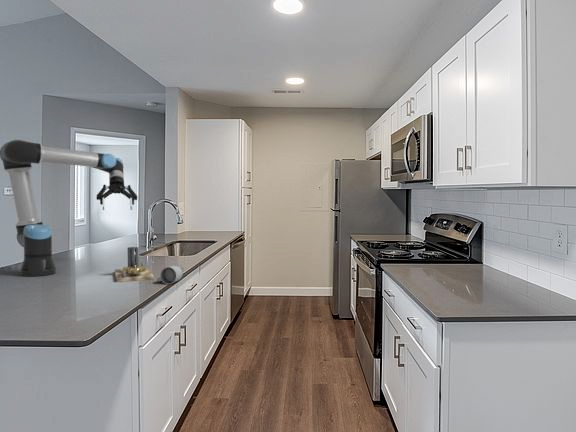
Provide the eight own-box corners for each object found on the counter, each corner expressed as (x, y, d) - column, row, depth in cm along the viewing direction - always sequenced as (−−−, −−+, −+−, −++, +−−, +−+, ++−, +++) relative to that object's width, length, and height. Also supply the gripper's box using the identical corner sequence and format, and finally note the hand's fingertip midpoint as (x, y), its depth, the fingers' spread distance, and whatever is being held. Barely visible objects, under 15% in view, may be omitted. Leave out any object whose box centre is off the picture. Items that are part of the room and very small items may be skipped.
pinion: (128, 273, 204) (127, 248, 203) (127, 271, 208) (127, 247, 208) (139, 272, 206) (138, 247, 205) (138, 270, 210) (137, 246, 210)
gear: (123, 278, 192) (123, 267, 192) (122, 274, 202) (122, 264, 201) (147, 276, 196) (147, 266, 196) (145, 272, 206) (145, 263, 206)
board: (116, 282, 191) (116, 272, 190) (114, 272, 213) (114, 263, 213) (154, 279, 197) (154, 269, 197) (148, 270, 220) (148, 261, 220)
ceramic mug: (183, 281, 195) (183, 264, 195) (176, 284, 187) (176, 267, 187) (161, 280, 197) (161, 263, 196) (153, 284, 189) (153, 266, 188)
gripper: (140, 185, 244) (142, 213, 231) (92, 184, 234) (91, 213, 221) (140, 176, 239) (143, 203, 226) (91, 174, 229) (91, 203, 216)
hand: (117, 208), depth 223 cm, fingers open, 13 cm apart
